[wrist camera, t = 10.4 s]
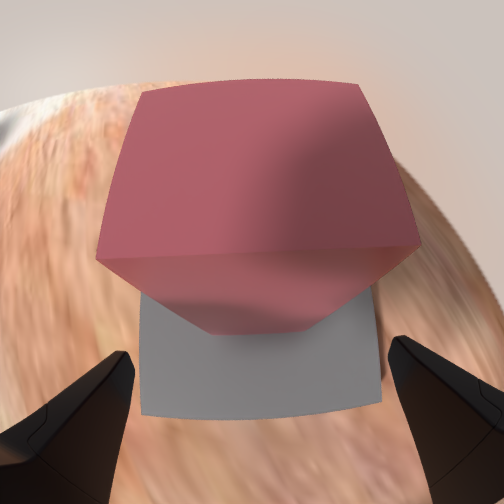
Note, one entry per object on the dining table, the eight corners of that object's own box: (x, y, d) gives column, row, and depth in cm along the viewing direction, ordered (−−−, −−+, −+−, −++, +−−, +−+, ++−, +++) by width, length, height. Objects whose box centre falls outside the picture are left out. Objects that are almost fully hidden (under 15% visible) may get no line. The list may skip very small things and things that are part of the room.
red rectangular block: (304, 331, 16) (421, 244, 4) (212, 335, 16) (95, 259, 4) (298, 261, 18) (358, 84, 6) (212, 264, 18) (142, 92, 6)
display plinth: (370, 398, 16) (381, 401, 14) (152, 410, 16) (141, 414, 14) (344, 205, 22) (350, 191, 20) (158, 214, 22) (150, 201, 20)
